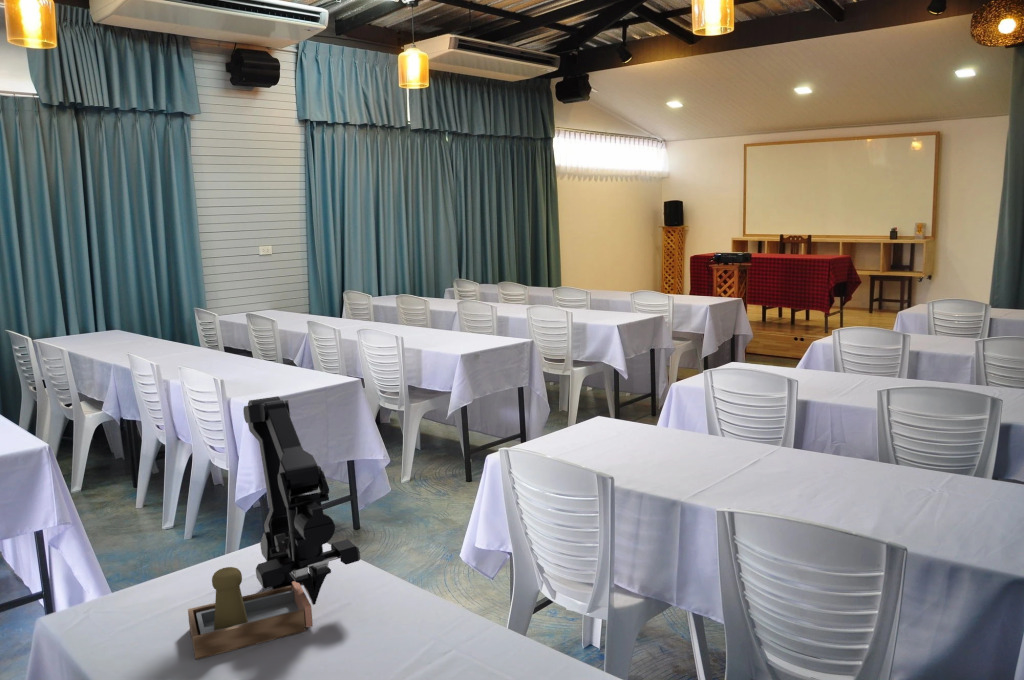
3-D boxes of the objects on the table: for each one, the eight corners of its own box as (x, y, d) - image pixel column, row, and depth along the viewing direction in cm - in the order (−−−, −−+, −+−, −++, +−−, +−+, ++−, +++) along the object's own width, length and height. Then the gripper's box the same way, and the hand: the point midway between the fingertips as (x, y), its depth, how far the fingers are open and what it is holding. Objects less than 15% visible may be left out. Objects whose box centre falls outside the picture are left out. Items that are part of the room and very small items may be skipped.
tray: (299, 599, 156) (297, 580, 155) (312, 625, 145) (311, 605, 145) (196, 623, 147) (194, 604, 147) (203, 654, 137) (201, 632, 136)
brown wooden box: (292, 604, 155) (291, 585, 155) (305, 631, 145) (303, 611, 144) (189, 629, 147) (187, 609, 146) (195, 659, 137) (193, 638, 136)
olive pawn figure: (206, 631, 143) (201, 574, 141) (229, 615, 149) (224, 561, 147) (232, 637, 141) (227, 579, 139) (255, 620, 146) (250, 565, 145)
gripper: (338, 503, 160) (345, 574, 162) (244, 527, 151) (254, 602, 153) (357, 519, 150) (365, 595, 153) (258, 546, 141) (268, 626, 144)
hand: (313, 603), depth 151 cm, fingers closed
